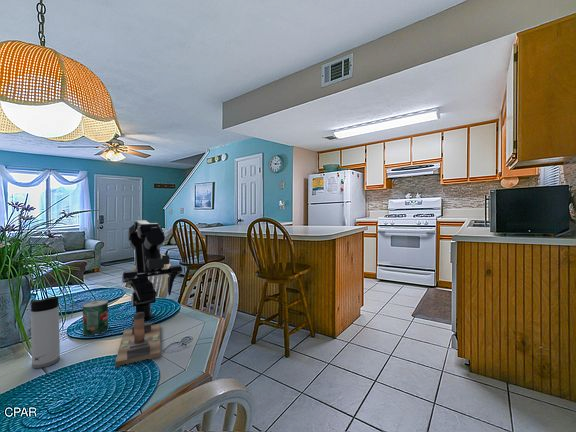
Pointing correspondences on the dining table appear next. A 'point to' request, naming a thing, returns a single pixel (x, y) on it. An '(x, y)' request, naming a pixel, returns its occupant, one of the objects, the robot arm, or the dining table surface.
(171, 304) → the dining table surface
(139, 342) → the handle
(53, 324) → the travel mug
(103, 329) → the canned tomato
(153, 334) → the press base
